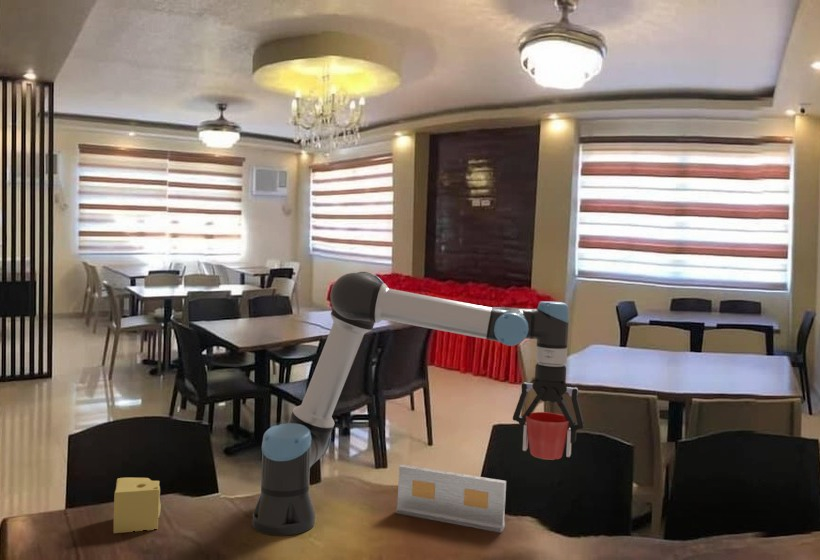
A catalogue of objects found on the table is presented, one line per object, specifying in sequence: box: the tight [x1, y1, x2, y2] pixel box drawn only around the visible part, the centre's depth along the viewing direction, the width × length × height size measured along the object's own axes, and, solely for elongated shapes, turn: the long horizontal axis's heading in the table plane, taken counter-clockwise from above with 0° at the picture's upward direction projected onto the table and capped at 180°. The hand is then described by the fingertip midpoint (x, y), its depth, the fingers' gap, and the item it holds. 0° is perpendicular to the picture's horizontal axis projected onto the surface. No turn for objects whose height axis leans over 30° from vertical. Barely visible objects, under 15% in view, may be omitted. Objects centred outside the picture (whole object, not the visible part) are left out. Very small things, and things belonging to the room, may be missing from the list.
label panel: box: [395, 464, 507, 533], centre depth 173 cm, size 28×4×12 cm, turn 69°
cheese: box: [113, 477, 162, 534], centre depth 163 cm, size 10×11×10 cm
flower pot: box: [526, 411, 570, 461], centre depth 169 cm, size 11×11×10 cm
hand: (546, 452), depth 169 cm, fingers closed on flower pot, 10 cm apart
